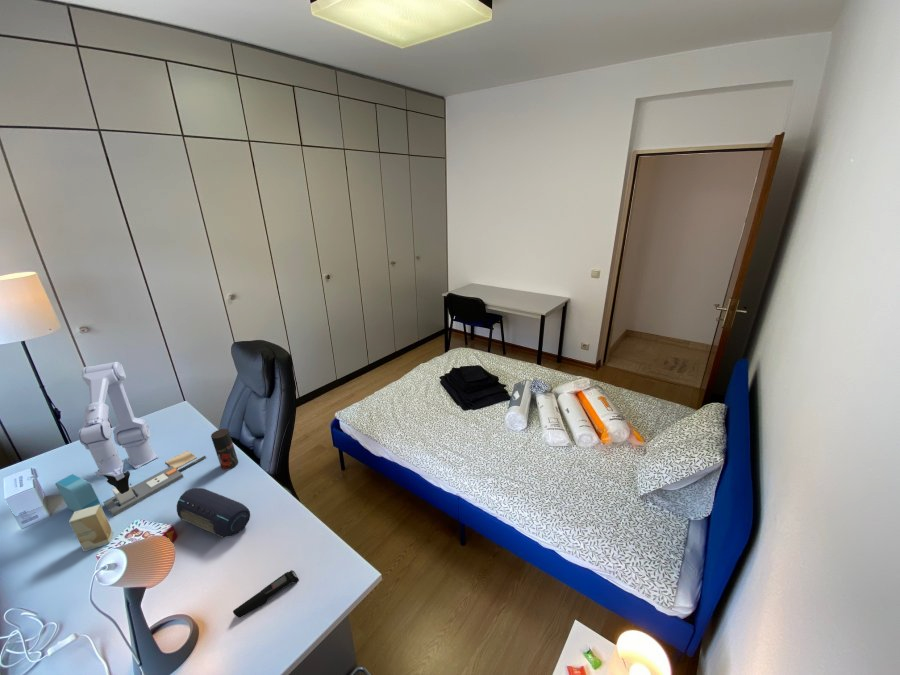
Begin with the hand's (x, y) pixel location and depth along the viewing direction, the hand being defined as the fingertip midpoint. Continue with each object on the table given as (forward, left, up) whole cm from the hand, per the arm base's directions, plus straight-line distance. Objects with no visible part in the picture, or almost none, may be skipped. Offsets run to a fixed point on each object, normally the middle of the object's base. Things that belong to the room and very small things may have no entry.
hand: (120, 487), depth 125 cm
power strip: (0, +11, -6) cm, 12 cm away
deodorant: (+13, +29, -6) cm, 32 cm away
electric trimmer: (+74, +8, -7) cm, 74 cm away
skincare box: (+13, -11, -6) cm, 18 cm away
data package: (-8, -9, -6) cm, 14 cm away
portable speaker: (+37, +12, -7) cm, 39 cm away
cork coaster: (-7, +20, -6) cm, 22 cm away
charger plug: (0, 0, -6) cm, 6 cm away
